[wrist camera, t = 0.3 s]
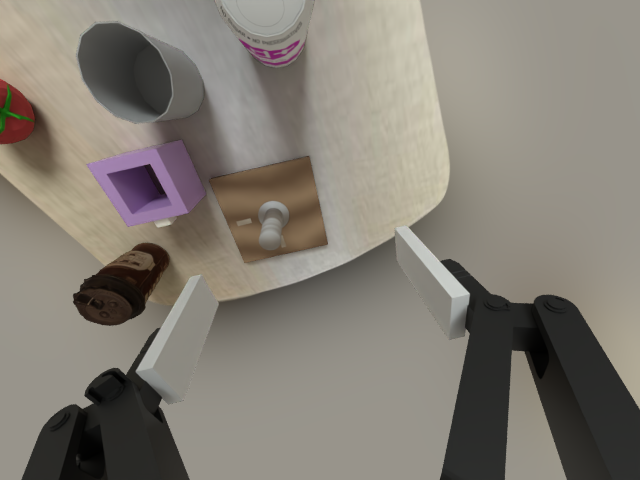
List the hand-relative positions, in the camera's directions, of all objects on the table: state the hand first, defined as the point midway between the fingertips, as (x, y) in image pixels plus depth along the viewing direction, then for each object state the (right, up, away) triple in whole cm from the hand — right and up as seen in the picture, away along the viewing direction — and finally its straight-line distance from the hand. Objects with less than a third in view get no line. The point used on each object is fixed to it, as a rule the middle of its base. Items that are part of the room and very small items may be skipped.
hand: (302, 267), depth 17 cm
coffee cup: (-30, -1, +28) cm, 41 cm away
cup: (-19, +23, +16) cm, 34 cm away
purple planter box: (-22, +12, +22) cm, 33 cm away
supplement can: (-5, +29, +15) cm, 32 cm away
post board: (-7, +7, +26) cm, 28 cm away
